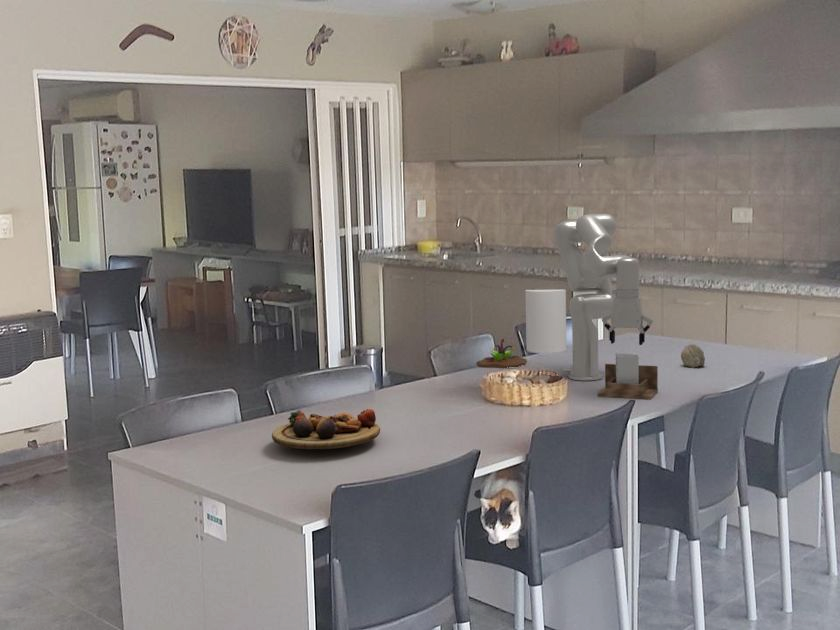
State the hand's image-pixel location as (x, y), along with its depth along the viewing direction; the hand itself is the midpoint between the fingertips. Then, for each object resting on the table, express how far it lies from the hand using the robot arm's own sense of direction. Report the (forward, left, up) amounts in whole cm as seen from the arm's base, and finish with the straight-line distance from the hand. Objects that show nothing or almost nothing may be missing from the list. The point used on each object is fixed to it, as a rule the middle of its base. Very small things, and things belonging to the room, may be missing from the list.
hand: (626, 343), depth 336 cm
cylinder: (-51, +76, -18) cm, 93 cm away
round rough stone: (+14, +54, -18) cm, 58 cm away
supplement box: (0, 0, -17) cm, 17 cm away
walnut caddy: (0, 0, -18) cm, 18 cm away
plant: (-60, +44, -18) cm, 76 cm away
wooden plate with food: (-72, -83, -18) cm, 111 cm away
